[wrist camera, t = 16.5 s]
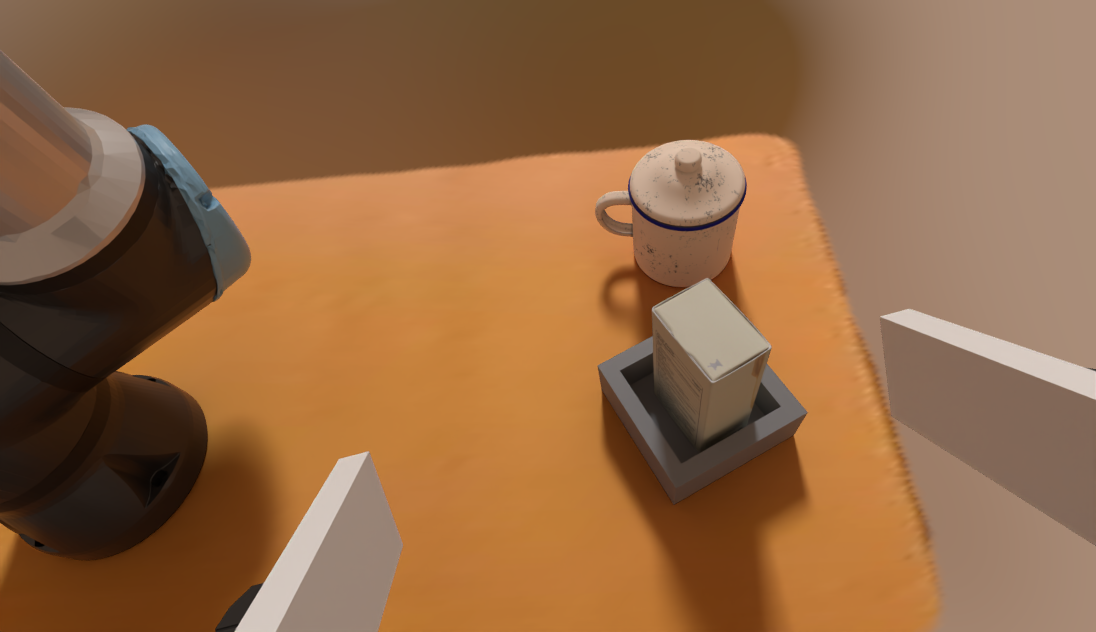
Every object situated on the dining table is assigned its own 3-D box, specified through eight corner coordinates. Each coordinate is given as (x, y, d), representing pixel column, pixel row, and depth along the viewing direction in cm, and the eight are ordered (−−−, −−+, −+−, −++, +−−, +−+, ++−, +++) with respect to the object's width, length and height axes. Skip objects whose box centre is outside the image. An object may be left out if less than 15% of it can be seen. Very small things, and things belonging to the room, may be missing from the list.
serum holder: (673, 504, 42) (676, 488, 38) (601, 390, 48) (597, 365, 44) (793, 434, 43) (807, 412, 40) (710, 330, 49) (715, 302, 45)
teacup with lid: (732, 211, 55) (750, 111, 45) (734, 293, 50) (754, 202, 40) (604, 210, 57) (594, 114, 47) (595, 288, 53) (582, 200, 43)
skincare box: (748, 427, 43) (779, 350, 33) (699, 457, 43) (715, 389, 32) (695, 361, 46) (708, 273, 36) (649, 388, 46) (649, 306, 36)
